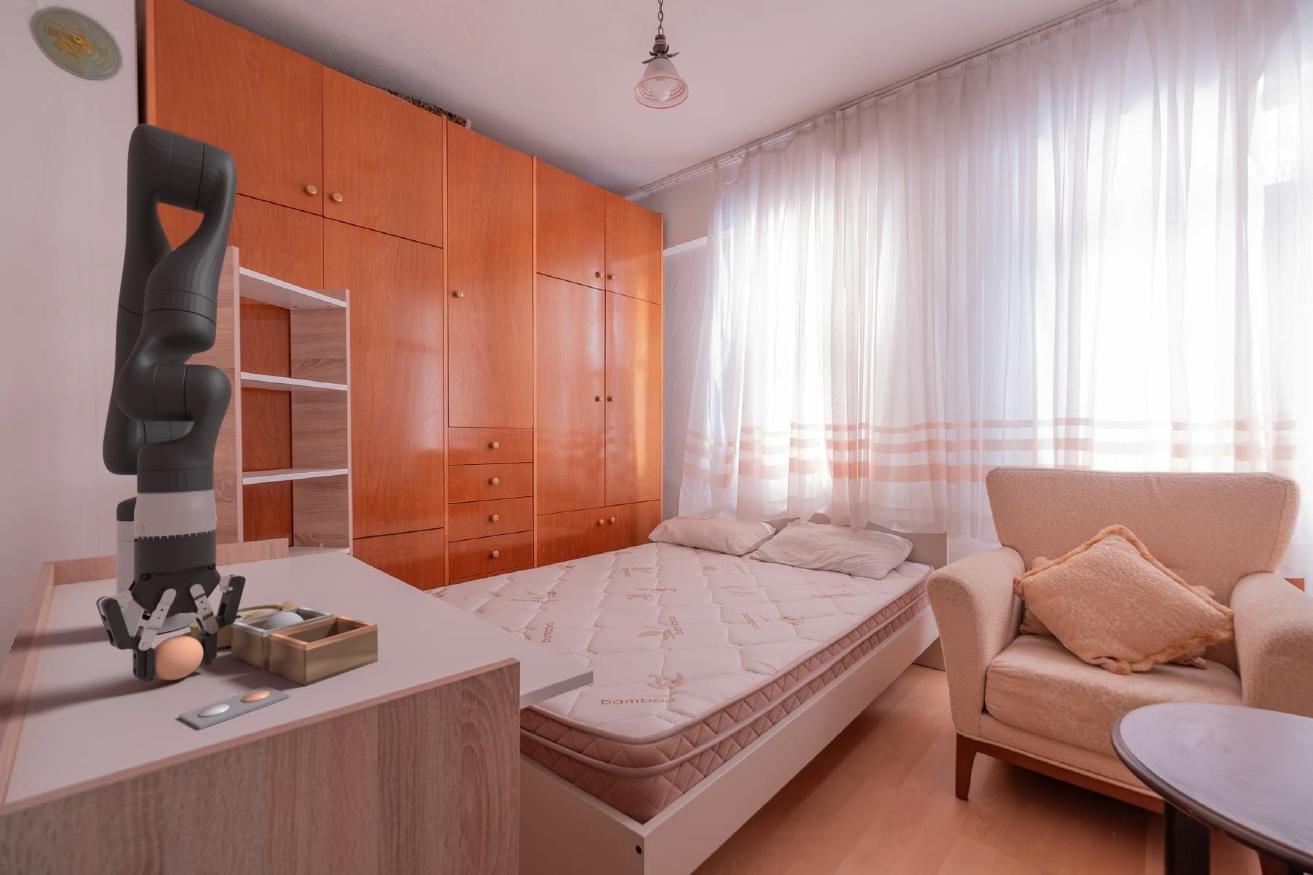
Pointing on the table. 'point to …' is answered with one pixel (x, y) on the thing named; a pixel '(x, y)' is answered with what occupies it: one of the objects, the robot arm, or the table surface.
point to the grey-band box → (264, 635)
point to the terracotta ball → (177, 657)
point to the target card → (232, 707)
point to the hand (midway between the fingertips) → (176, 671)
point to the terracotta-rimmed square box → (322, 649)
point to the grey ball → (281, 620)
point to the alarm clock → (242, 614)
